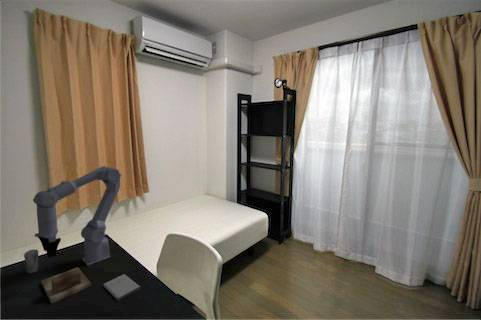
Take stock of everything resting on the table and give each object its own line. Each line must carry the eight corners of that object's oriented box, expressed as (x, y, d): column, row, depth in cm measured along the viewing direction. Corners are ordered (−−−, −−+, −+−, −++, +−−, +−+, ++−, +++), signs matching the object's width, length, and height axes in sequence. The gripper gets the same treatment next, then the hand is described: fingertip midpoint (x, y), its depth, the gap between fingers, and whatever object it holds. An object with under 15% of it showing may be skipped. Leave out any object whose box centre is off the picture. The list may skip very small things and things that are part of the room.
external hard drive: (118, 302, 79) (103, 287, 86) (140, 290, 85) (124, 277, 93) (117, 298, 79) (103, 283, 86) (140, 286, 85) (124, 273, 93)
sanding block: (77, 279, 88) (77, 268, 88) (81, 283, 86) (80, 272, 85) (51, 289, 82) (51, 278, 82) (54, 294, 80) (53, 283, 79)
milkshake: (32, 275, 92) (30, 252, 91) (22, 273, 93) (20, 250, 92) (44, 268, 96) (42, 247, 95) (34, 267, 97) (32, 245, 96)
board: (78, 269, 96) (77, 267, 96) (91, 285, 86) (90, 283, 86) (41, 283, 87) (41, 280, 87) (51, 303, 77) (51, 300, 77)
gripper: (30, 219, 90) (33, 251, 91) (37, 229, 81) (40, 264, 82) (52, 214, 95) (55, 244, 97) (61, 223, 86) (64, 256, 88)
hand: (49, 253), depth 90 cm, fingers open, 7 cm apart
